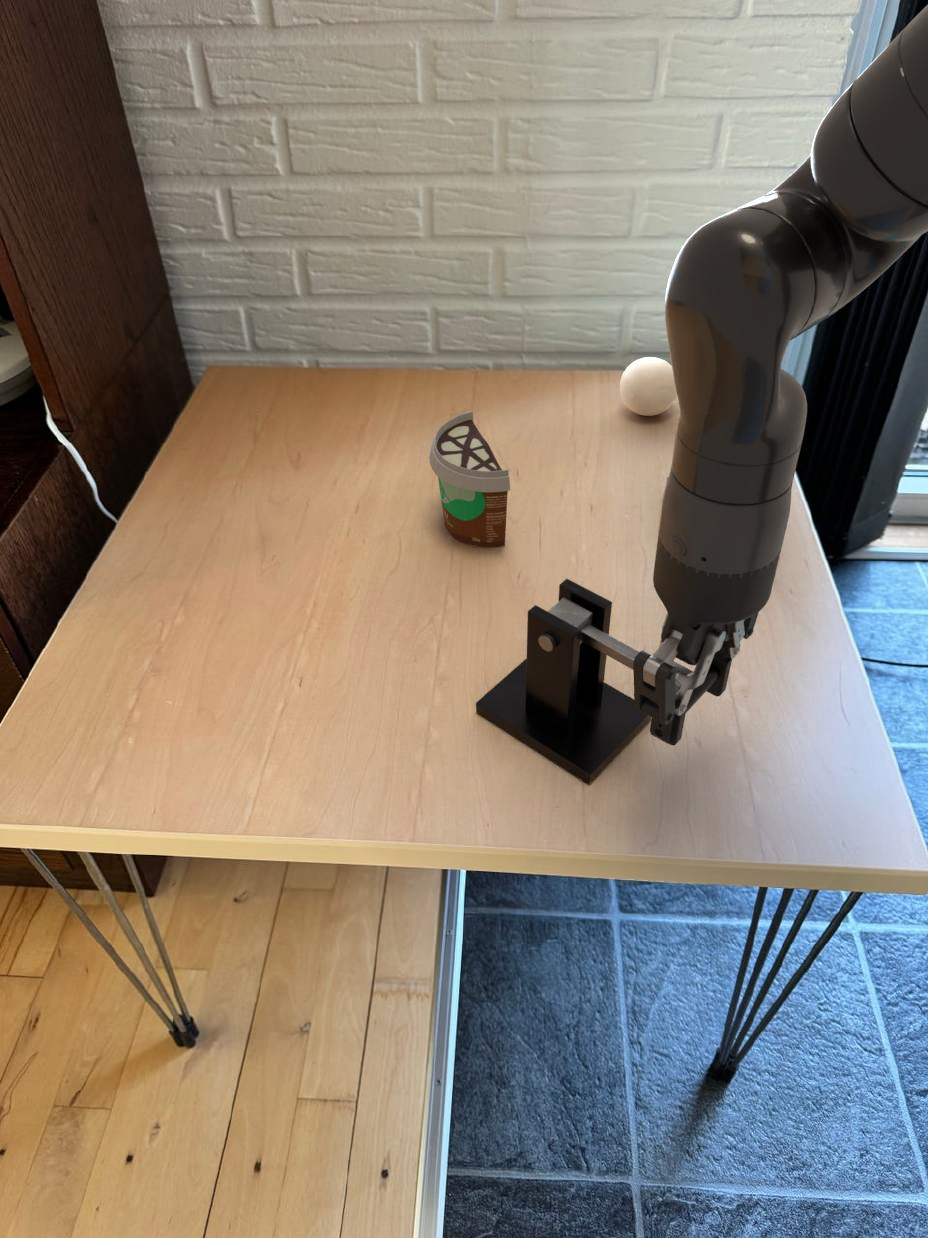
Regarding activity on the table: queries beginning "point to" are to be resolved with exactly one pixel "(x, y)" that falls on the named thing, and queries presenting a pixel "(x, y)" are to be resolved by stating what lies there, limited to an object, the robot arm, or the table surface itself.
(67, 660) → the table surface
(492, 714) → the bracket
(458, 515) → the food container
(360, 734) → the table surface
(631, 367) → the cream ball
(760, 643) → the table surface
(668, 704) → the robot arm
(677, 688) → the lever
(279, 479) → the table surface
